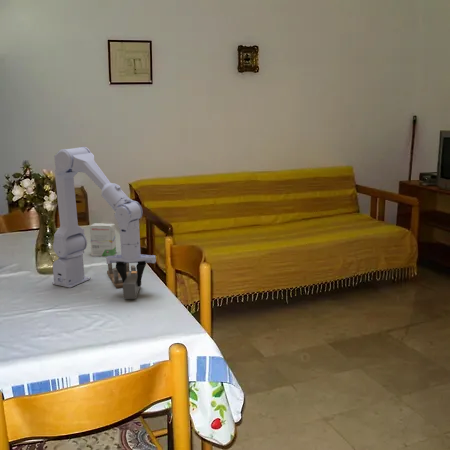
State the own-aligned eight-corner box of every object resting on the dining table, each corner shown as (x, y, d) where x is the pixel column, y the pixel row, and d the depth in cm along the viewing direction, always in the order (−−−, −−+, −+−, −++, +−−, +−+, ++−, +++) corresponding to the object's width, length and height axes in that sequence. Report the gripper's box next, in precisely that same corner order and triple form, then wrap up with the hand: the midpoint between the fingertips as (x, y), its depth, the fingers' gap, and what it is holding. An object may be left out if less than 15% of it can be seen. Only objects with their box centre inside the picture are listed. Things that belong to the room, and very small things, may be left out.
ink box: (91, 256, 203) (88, 225, 200) (95, 252, 208) (93, 222, 205) (113, 256, 202) (111, 226, 199) (117, 252, 207) (115, 222, 204)
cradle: (138, 285, 171) (137, 268, 169) (116, 288, 168) (115, 271, 167) (127, 270, 185) (126, 255, 184) (107, 273, 183) (106, 258, 181)
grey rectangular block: (135, 298, 157) (134, 283, 156) (123, 298, 157) (122, 283, 156) (141, 284, 169) (140, 270, 168) (130, 284, 169) (129, 270, 168)
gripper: (156, 238, 163) (157, 280, 167) (108, 239, 163) (111, 281, 167) (153, 244, 156) (155, 288, 160) (103, 245, 156) (106, 289, 160)
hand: (132, 285), depth 163 cm, fingers closed on grey rectangular block, 3 cm apart
